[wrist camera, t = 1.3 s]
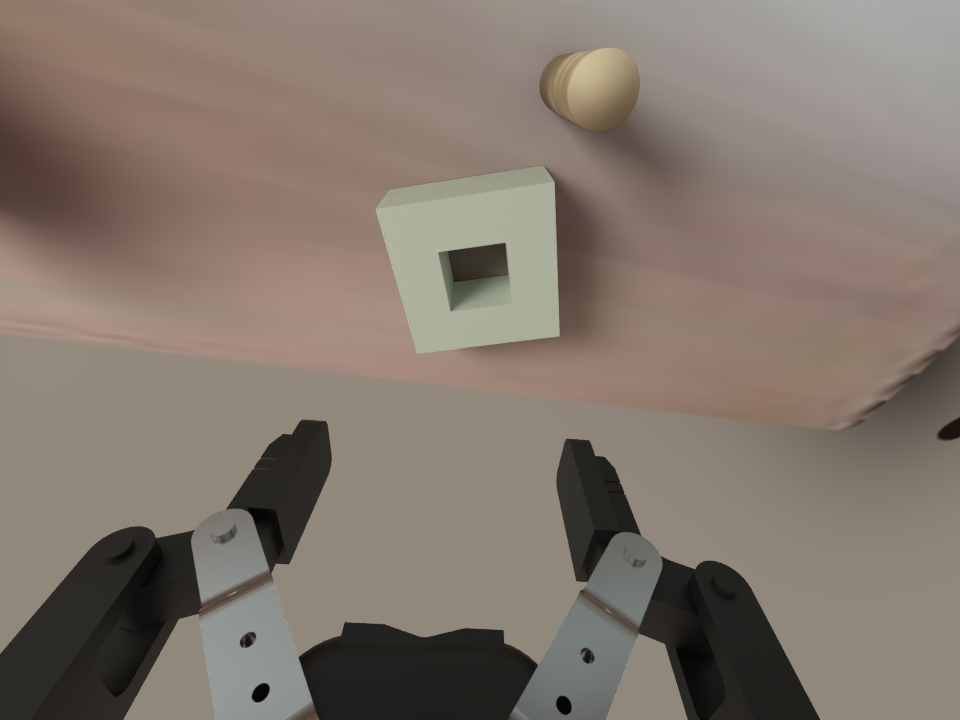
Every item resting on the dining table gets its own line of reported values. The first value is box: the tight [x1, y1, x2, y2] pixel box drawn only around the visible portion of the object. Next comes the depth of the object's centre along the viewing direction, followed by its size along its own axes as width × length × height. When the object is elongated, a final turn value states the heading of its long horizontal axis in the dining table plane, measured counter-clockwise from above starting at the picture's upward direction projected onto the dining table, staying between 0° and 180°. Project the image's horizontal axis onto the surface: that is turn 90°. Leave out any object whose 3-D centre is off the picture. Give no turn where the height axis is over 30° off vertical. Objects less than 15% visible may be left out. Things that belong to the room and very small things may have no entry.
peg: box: [540, 48, 640, 132], centre depth 21 cm, size 3×3×10 cm
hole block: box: [376, 166, 560, 354], centre depth 30 cm, size 11×11×5 cm
